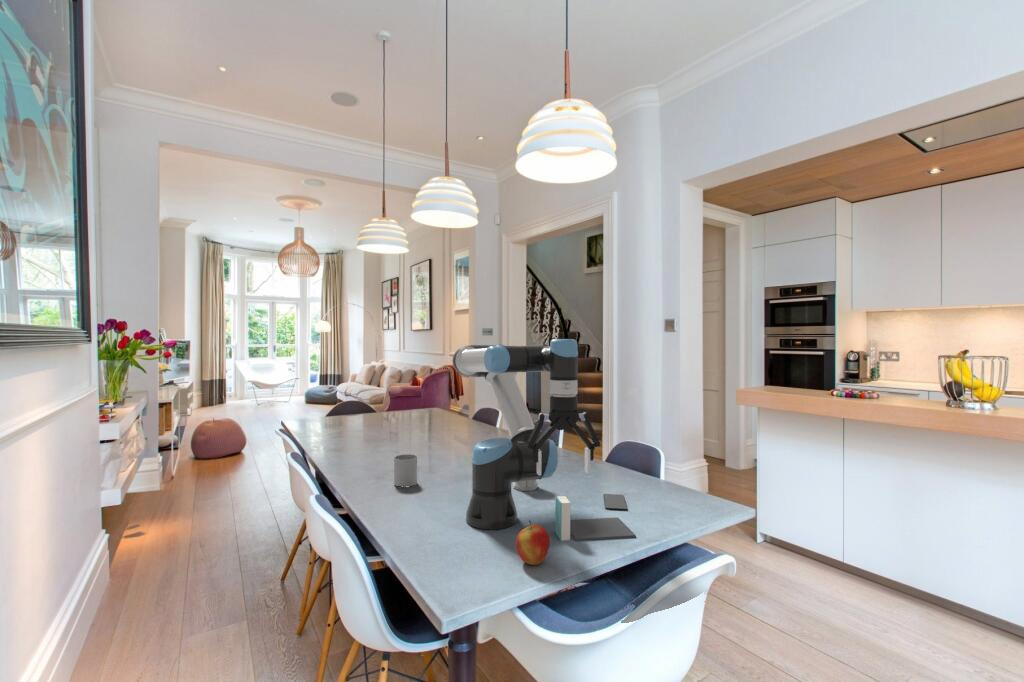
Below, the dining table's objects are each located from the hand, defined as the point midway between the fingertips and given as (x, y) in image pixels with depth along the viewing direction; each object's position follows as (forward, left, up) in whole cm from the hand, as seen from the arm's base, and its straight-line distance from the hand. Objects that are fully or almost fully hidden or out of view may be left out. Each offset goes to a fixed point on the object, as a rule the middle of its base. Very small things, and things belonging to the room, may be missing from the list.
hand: (563, 473), depth 128 cm
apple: (-11, -14, -17) cm, 25 cm away
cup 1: (-46, +53, -17) cm, 72 cm away
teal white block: (0, 0, -17) cm, 17 cm away
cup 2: (-3, +44, -17) cm, 47 cm away
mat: (+11, +3, -17) cm, 21 cm away
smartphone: (+24, +24, -18) cm, 38 cm away
